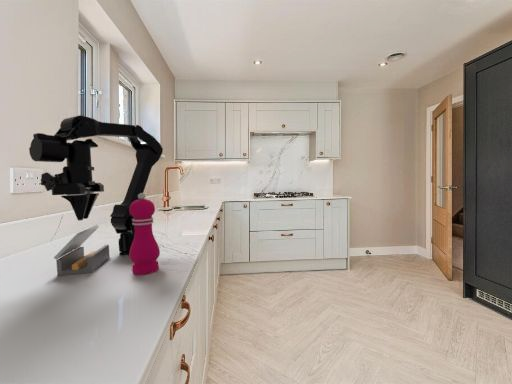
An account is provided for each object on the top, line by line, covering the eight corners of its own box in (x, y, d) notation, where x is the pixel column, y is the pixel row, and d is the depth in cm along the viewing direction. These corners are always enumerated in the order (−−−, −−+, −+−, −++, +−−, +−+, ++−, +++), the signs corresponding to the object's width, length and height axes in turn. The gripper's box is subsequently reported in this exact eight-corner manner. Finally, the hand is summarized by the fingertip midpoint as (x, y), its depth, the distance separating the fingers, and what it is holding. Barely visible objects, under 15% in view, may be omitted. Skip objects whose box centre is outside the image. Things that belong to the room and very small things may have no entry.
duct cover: (99, 226, 83) (96, 224, 83) (79, 235, 70) (76, 232, 70) (79, 246, 82) (77, 244, 82) (56, 259, 69) (52, 257, 69)
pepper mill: (166, 267, 73) (162, 191, 72) (147, 276, 66) (142, 193, 65) (144, 265, 75) (140, 192, 74) (123, 274, 68) (118, 194, 67)
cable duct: (109, 257, 84) (108, 244, 84) (92, 272, 71) (91, 256, 70) (80, 259, 83) (79, 246, 83) (57, 275, 69) (56, 259, 69)
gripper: (62, 165, 83) (66, 217, 84) (24, 161, 65) (29, 227, 65) (103, 164, 85) (106, 214, 86) (77, 160, 67) (81, 223, 68)
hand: (82, 219), depth 76 cm, fingers open, 3 cm apart
